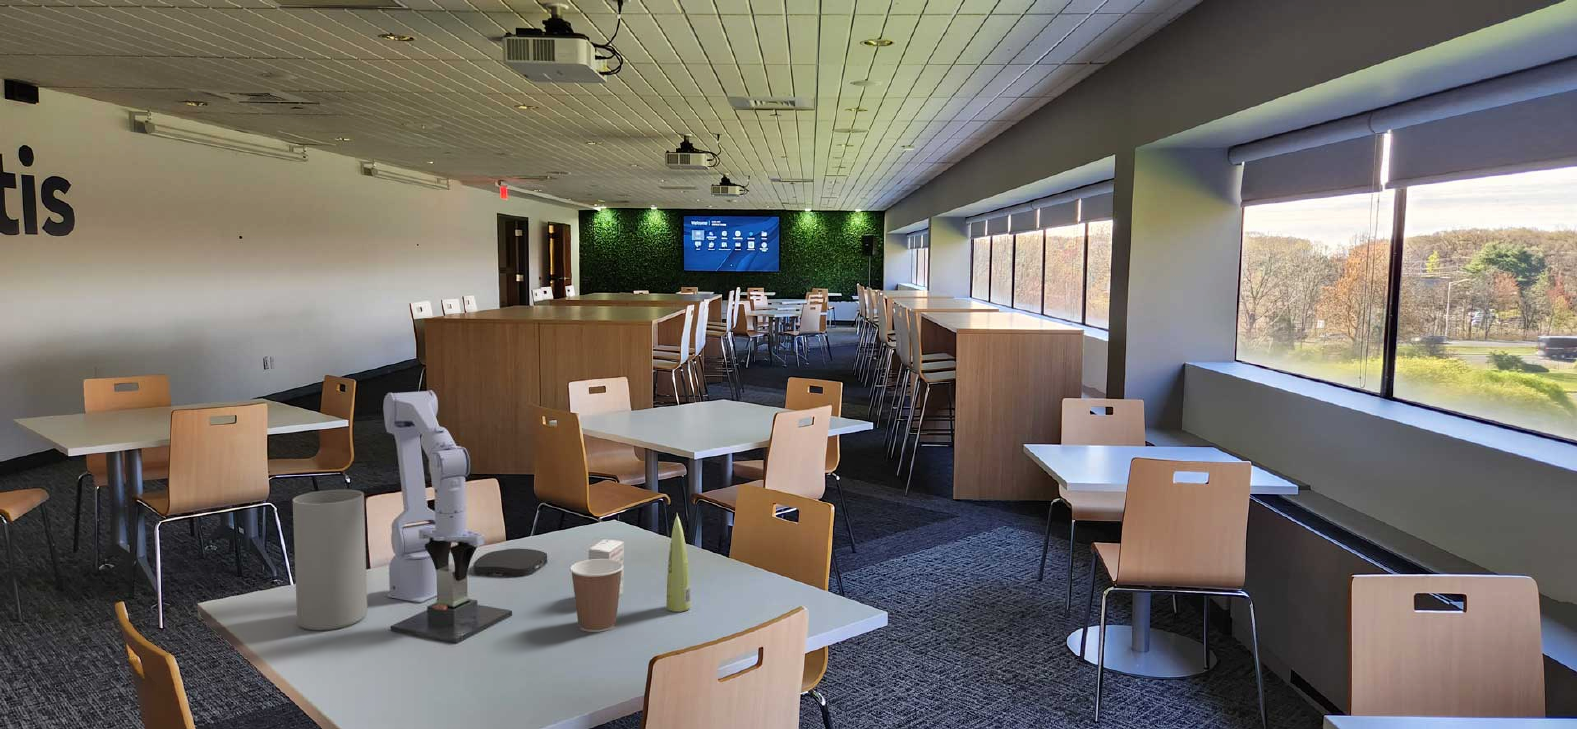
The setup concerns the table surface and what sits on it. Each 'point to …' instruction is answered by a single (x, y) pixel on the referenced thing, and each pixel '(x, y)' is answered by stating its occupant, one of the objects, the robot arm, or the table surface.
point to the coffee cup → (596, 593)
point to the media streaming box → (510, 563)
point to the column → (450, 587)
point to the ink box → (609, 553)
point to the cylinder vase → (330, 559)
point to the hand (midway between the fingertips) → (451, 577)
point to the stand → (451, 621)
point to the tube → (678, 572)
